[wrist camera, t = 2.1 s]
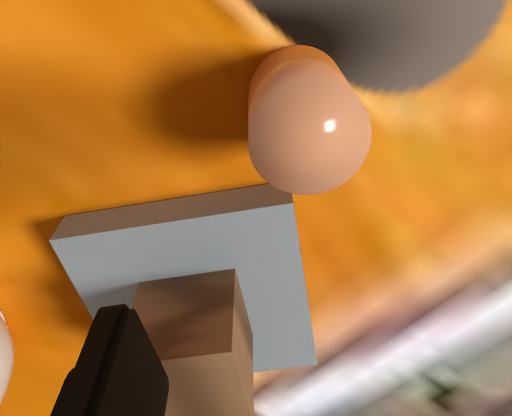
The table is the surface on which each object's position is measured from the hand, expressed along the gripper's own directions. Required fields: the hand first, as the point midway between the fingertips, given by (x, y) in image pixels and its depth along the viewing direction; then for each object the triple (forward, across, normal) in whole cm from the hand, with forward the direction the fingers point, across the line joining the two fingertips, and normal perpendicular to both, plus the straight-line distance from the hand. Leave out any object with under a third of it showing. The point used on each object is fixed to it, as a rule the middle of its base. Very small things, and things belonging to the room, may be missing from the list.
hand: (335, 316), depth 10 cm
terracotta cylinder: (+15, -1, 0) cm, 15 cm away
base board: (+15, +8, +12) cm, 20 cm away
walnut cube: (+12, +8, +12) cm, 18 cm away
